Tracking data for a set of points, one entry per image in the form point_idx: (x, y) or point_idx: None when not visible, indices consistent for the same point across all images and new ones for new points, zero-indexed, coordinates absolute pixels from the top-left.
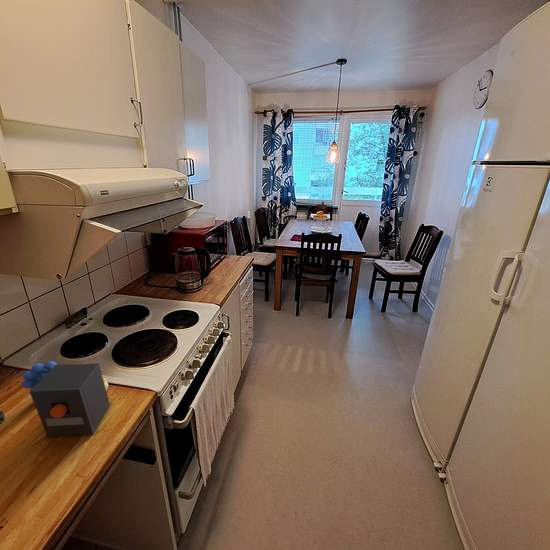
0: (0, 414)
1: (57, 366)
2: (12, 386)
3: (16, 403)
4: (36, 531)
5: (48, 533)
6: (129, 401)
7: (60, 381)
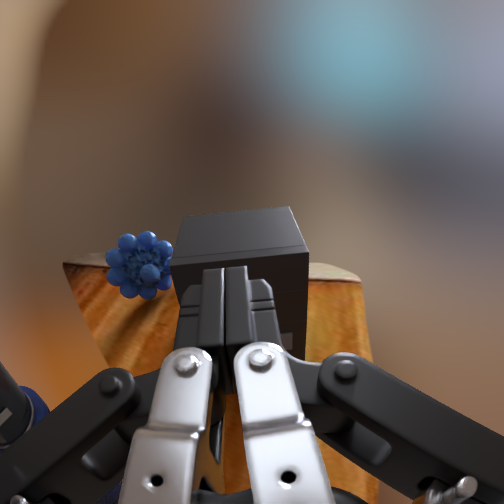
0: (257, 284)
1: (191, 218)
2: (82, 290)
3: (101, 316)
4: None
5: None
6: (325, 303)
7: (232, 240)
